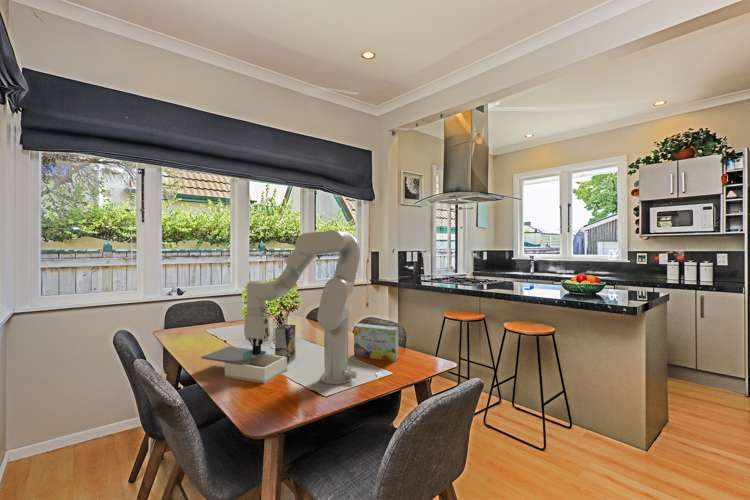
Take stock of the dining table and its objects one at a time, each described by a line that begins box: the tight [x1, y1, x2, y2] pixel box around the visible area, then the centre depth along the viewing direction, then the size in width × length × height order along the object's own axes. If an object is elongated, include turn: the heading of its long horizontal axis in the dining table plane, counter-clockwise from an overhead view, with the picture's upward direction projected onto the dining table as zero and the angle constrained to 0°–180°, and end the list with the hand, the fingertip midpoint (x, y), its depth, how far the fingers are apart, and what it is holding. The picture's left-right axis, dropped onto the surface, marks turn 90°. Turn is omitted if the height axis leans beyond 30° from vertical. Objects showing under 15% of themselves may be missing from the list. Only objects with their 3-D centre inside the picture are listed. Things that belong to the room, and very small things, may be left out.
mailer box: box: [224, 353, 288, 384], centre depth 159 cm, size 20×15×6 cm
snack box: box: [353, 323, 399, 362], centre depth 179 cm, size 21×6×15 cm, turn 68°
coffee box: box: [274, 324, 297, 365], centre depth 174 cm, size 9×6×16 cm
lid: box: [201, 346, 267, 365], centre depth 163 cm, size 21×16×4 cm
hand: (256, 354), depth 158 cm, fingers closed
